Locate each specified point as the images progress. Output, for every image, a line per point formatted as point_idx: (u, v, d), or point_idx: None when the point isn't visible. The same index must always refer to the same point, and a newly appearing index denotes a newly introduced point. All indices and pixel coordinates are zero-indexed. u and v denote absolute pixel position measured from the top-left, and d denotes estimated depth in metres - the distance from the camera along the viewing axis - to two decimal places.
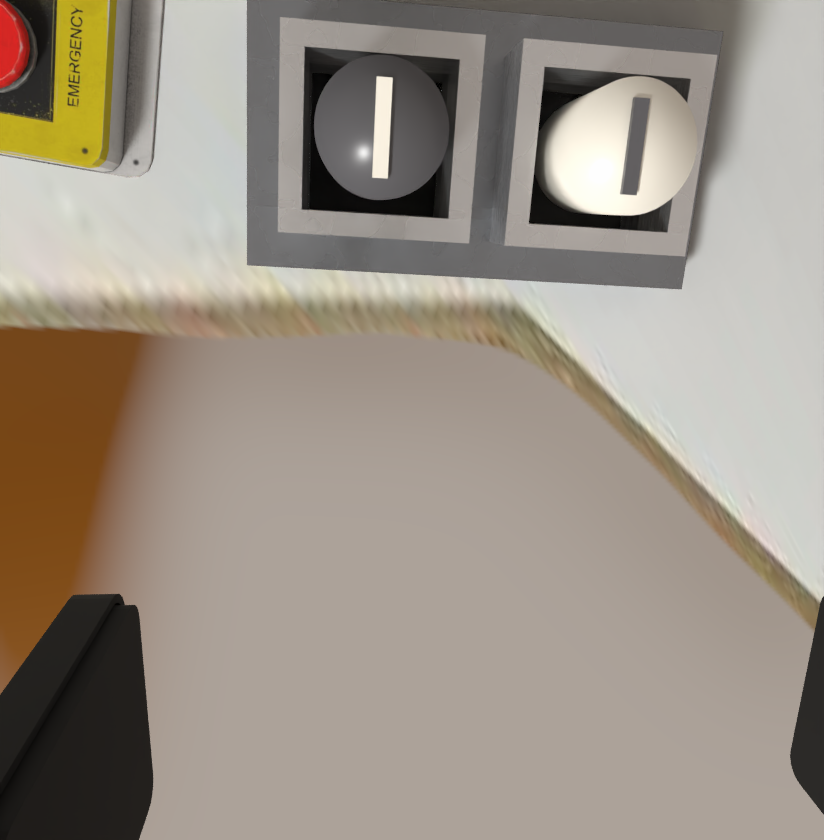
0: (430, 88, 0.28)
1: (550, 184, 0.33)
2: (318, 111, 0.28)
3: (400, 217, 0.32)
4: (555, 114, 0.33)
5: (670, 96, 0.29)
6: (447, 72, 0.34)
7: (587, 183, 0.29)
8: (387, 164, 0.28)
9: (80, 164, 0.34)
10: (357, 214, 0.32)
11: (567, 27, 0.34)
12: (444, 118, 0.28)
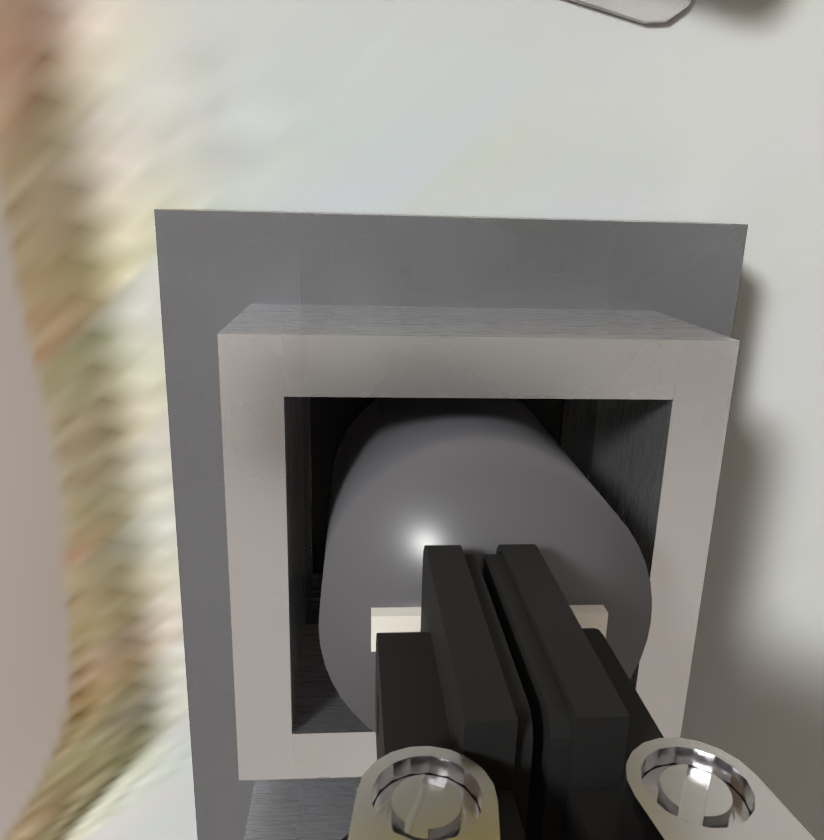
0: None
1: None
2: (527, 474, 0.11)
3: (285, 632, 0.13)
4: None
5: None
6: None
7: None
8: None
9: None
10: (283, 535, 0.12)
11: None
12: None
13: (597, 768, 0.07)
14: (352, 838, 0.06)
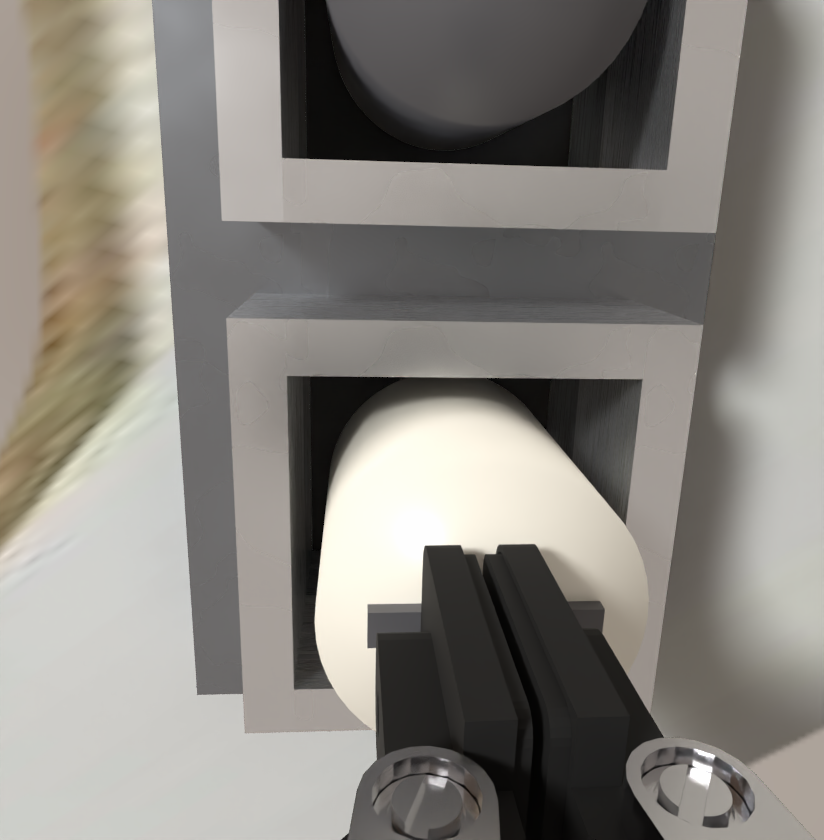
0: (582, 70, 0.12)
1: (384, 415, 0.14)
2: None
3: (274, 12, 0.11)
4: (526, 409, 0.16)
5: None
6: None
7: (391, 519, 0.11)
8: None
9: None
10: None
11: None
12: (516, 110, 0.12)
13: (597, 768, 0.07)
14: (352, 838, 0.06)
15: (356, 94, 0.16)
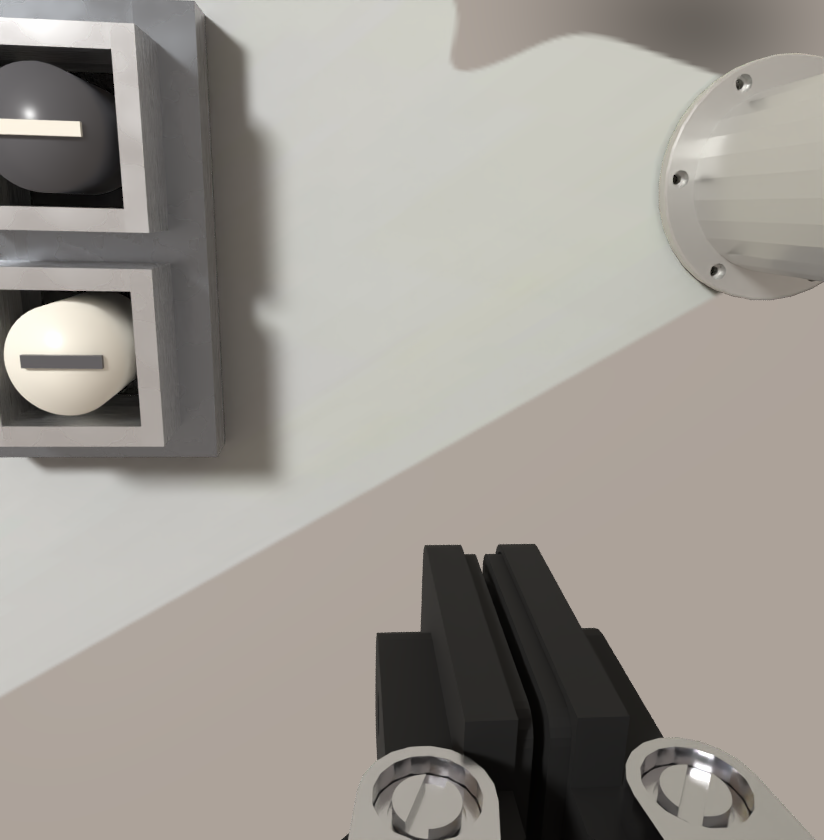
0: (80, 173, 0.32)
1: None
2: (42, 65, 0.30)
3: None
4: (127, 303, 0.38)
5: (109, 387, 0.34)
6: None
7: (25, 324, 0.33)
8: (5, 133, 0.31)
9: None
10: None
11: (202, 319, 0.38)
12: (57, 187, 0.32)
13: (597, 768, 0.07)
14: (352, 838, 0.06)
15: None
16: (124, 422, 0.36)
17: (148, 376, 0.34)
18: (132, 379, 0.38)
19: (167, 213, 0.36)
